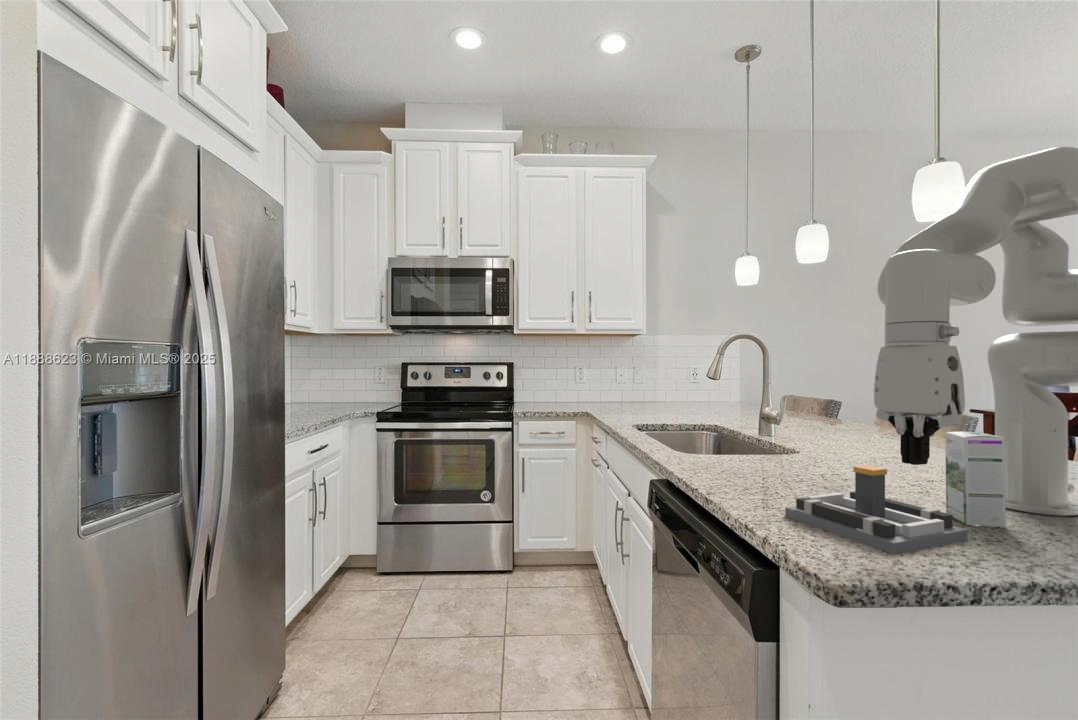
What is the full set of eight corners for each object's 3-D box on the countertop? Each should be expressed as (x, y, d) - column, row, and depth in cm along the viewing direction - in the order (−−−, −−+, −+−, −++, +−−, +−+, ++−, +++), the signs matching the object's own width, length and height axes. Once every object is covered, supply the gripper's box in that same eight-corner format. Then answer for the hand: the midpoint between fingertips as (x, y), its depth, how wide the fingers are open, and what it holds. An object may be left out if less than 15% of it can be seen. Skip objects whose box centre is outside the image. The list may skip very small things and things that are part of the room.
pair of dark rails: (858, 501, 89) (858, 489, 89) (954, 526, 75) (954, 513, 75) (794, 509, 84) (794, 497, 84) (884, 539, 70) (884, 524, 70)
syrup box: (1008, 528, 79) (1007, 436, 79) (964, 526, 80) (964, 435, 80) (983, 517, 85) (983, 431, 85) (943, 515, 86) (943, 430, 86)
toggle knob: (867, 512, 81) (867, 465, 81) (887, 517, 78) (887, 469, 78) (853, 514, 80) (853, 466, 80) (872, 519, 77) (872, 470, 77)
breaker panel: (852, 507, 91) (852, 489, 91) (967, 539, 74) (967, 518, 74) (785, 516, 85) (785, 498, 85) (893, 554, 68) (893, 531, 68)
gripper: (993, 335, 67) (992, 472, 67) (882, 340, 81) (881, 454, 81) (958, 332, 65) (956, 475, 64) (849, 338, 79) (848, 455, 78)
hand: (914, 463), depth 73 cm, fingers closed
